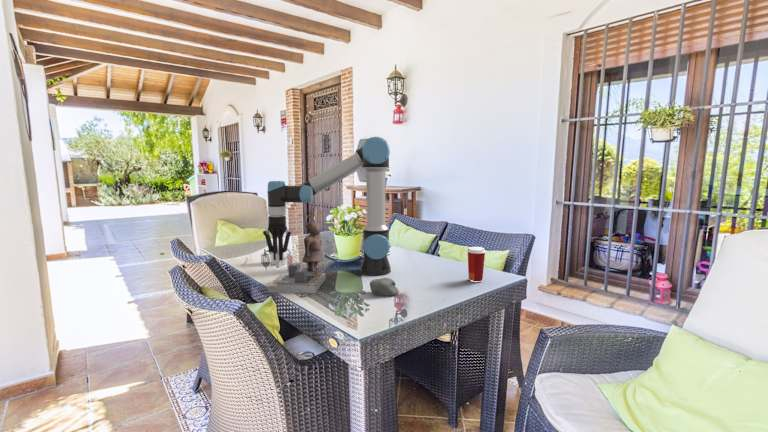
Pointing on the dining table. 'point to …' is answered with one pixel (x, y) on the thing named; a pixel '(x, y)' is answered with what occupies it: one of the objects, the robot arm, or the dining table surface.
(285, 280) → the switch unit
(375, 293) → the stone
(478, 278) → the beer glass
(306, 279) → the slider near
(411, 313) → the dining table surface
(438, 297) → the dining table surface
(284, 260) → the mug
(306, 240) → the clay figurine
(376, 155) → the robot arm
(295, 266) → the block
